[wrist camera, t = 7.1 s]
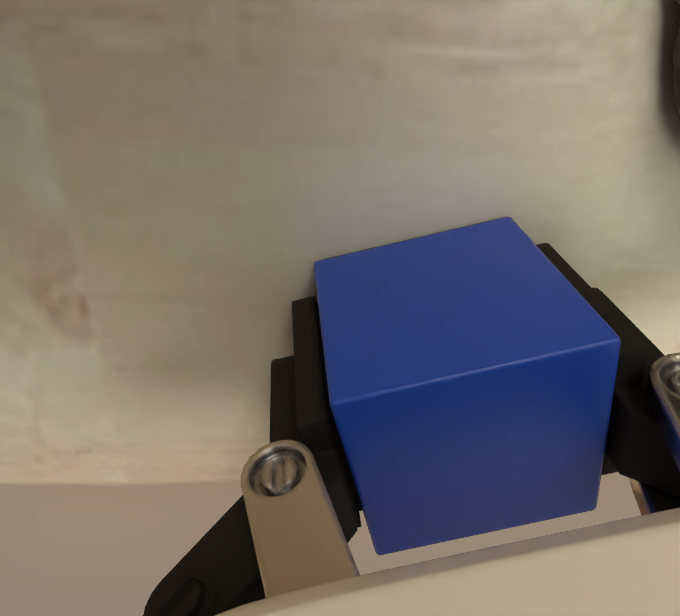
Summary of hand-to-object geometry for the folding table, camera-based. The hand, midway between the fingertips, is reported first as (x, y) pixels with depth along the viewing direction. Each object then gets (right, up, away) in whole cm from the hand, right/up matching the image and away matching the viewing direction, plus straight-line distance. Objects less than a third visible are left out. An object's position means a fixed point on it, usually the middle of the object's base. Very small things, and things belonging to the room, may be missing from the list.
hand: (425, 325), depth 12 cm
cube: (0, 0, 0) cm, 0 cm away
